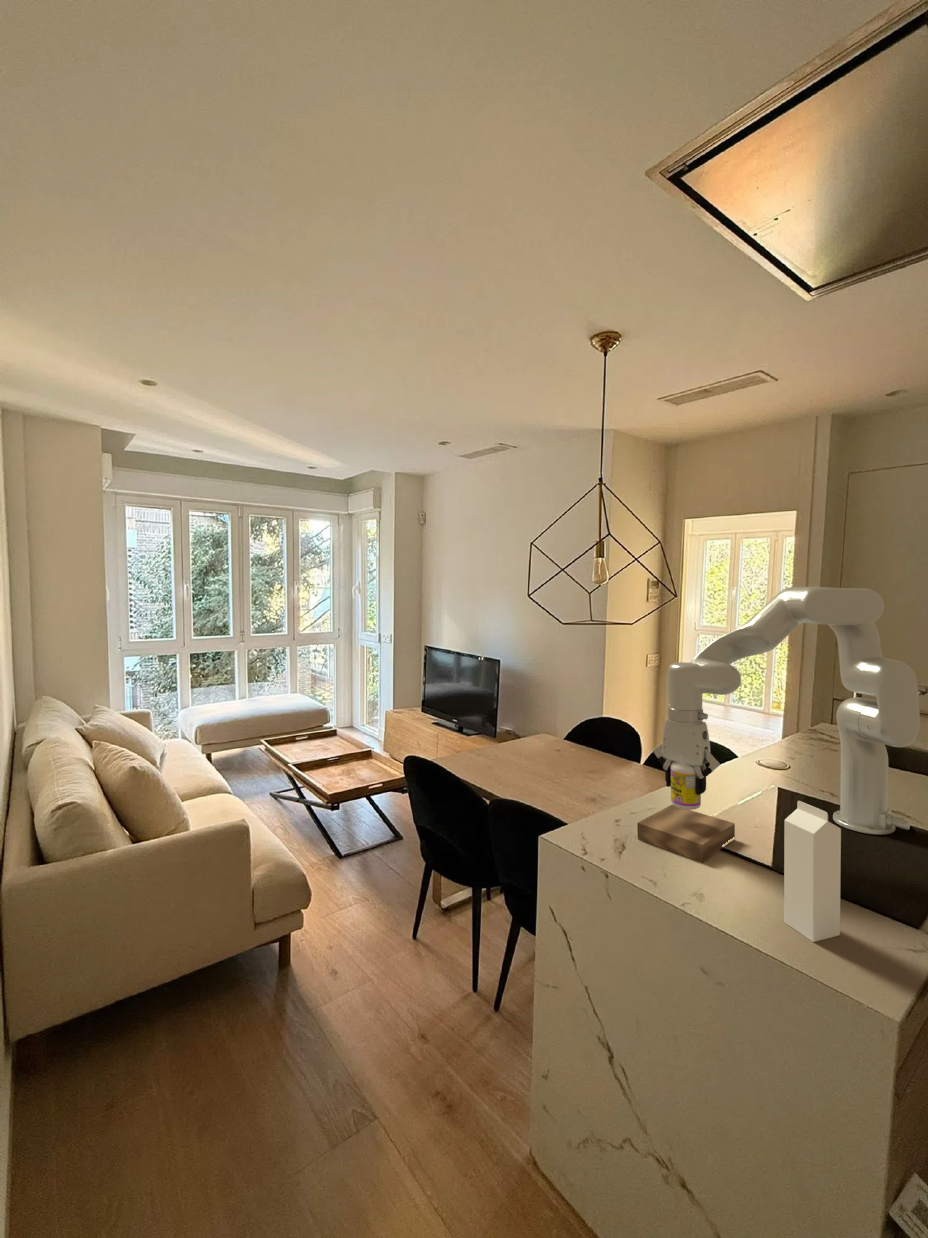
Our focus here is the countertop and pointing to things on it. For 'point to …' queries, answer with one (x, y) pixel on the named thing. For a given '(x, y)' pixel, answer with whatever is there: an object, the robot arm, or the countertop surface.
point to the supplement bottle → (684, 786)
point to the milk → (812, 873)
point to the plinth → (686, 832)
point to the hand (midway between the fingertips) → (685, 788)
